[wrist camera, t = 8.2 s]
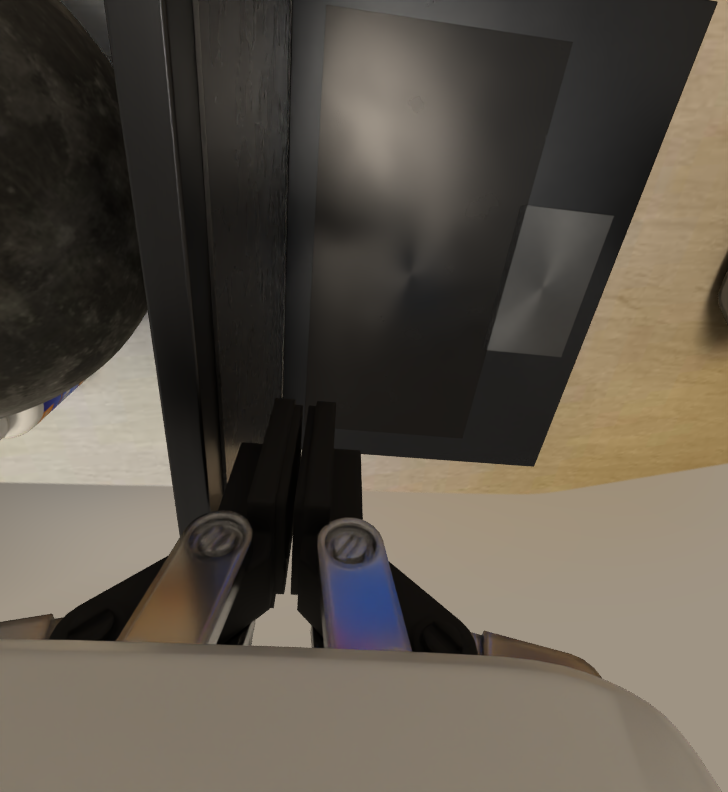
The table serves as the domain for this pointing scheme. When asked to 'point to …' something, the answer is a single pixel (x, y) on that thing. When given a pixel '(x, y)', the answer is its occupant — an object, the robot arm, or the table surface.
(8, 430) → the pill bottle
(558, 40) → the laptop
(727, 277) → the handheld device
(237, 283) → the laptop screen
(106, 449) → the table surface
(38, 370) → the decorative sphere
